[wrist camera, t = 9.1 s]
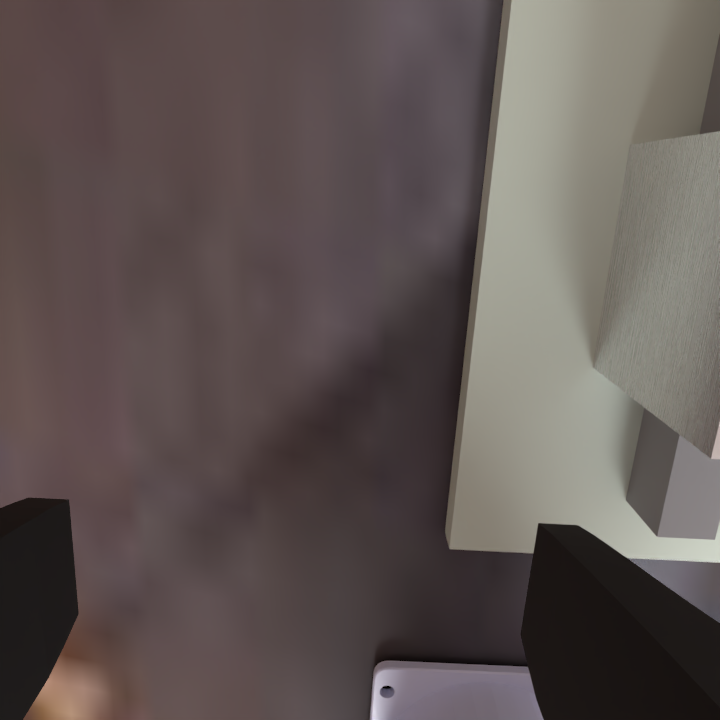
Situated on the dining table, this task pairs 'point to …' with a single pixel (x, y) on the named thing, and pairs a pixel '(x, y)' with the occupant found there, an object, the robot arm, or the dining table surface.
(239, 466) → the dining table surface
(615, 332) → the block
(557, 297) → the rail plate
